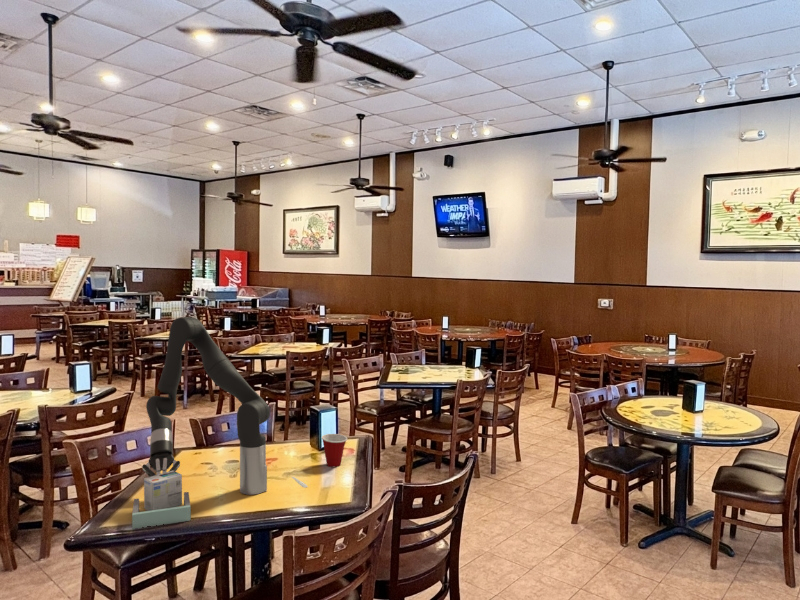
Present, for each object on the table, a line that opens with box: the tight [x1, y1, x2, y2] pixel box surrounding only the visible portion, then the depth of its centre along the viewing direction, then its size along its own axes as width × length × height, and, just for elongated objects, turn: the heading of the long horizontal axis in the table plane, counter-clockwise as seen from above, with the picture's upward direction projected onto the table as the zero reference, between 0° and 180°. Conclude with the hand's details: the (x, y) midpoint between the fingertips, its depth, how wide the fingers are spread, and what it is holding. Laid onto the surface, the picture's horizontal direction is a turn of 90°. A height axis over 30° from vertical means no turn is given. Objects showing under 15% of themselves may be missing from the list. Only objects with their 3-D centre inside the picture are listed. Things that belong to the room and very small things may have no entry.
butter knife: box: [291, 476, 309, 489], centre depth 221 cm, size 1×27×3 cm
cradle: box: [131, 491, 192, 530], centre depth 183 cm, size 17×14×4 cm
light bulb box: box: [143, 470, 183, 511], centre depth 190 cm, size 11×7×11 cm, turn 139°
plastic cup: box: [321, 433, 348, 468], centre depth 235 cm, size 11×11×12 cm
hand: (161, 488), depth 194 cm, fingers closed
